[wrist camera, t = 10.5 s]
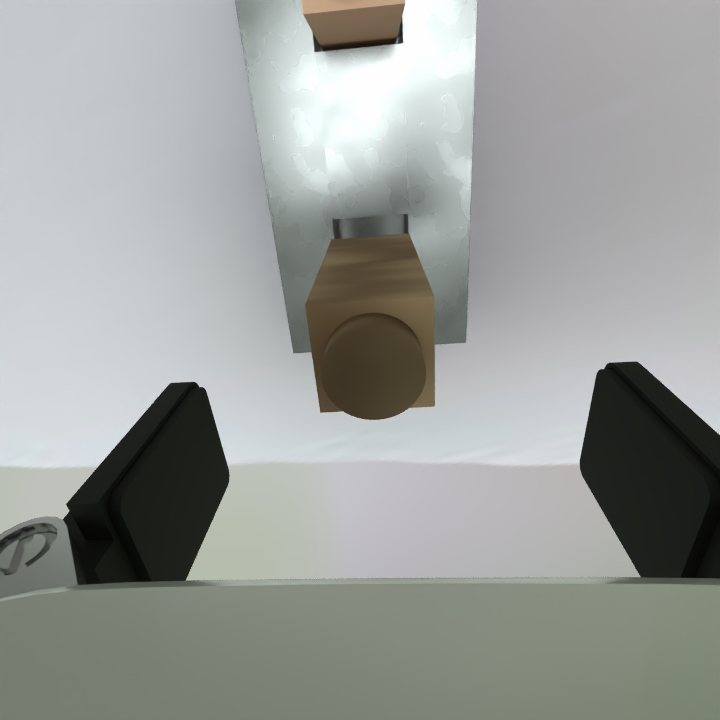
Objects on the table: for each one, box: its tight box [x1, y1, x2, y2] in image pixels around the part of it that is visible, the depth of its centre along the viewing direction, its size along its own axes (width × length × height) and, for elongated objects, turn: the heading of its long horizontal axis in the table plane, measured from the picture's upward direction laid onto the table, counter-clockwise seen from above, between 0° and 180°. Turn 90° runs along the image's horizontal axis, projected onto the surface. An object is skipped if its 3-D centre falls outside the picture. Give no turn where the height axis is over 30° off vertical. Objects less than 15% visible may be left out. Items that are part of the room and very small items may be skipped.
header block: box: [235, 0, 477, 353], centre depth 27 cm, size 12×26×5 cm, turn 5°
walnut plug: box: [305, 233, 435, 420], centre depth 18 cm, size 4×4×11 cm
